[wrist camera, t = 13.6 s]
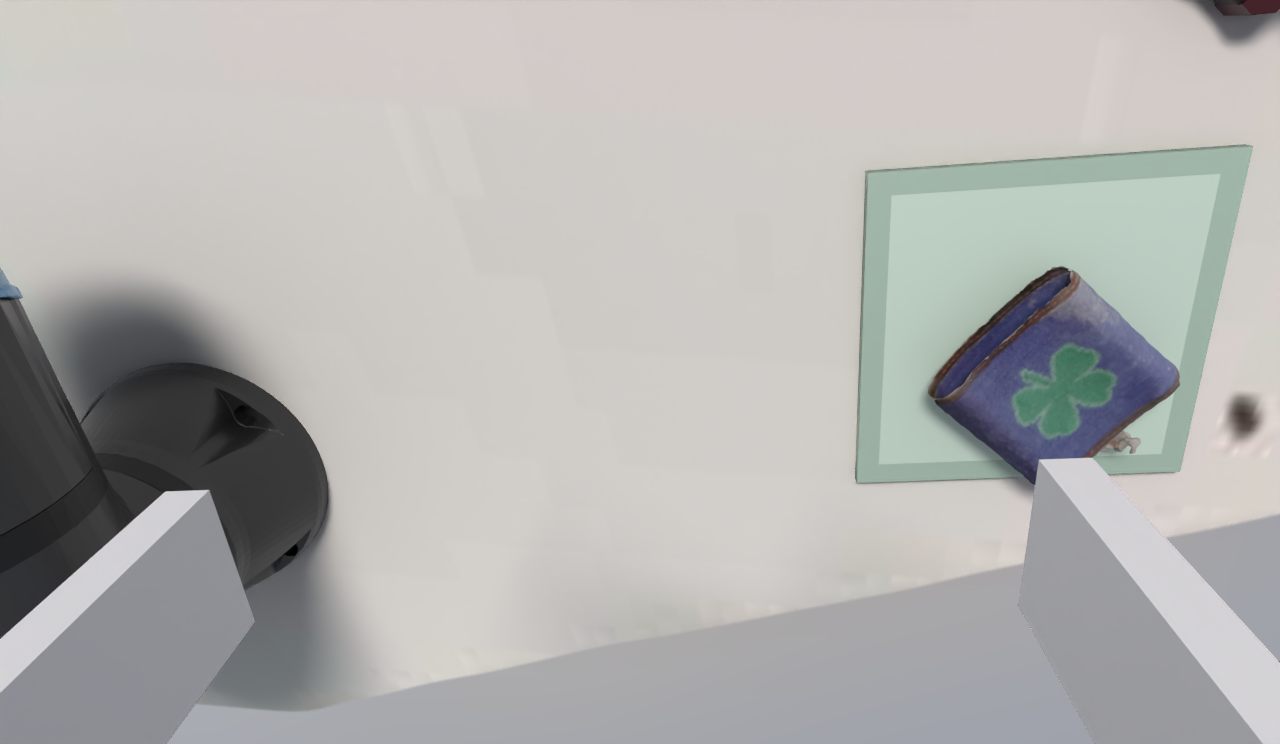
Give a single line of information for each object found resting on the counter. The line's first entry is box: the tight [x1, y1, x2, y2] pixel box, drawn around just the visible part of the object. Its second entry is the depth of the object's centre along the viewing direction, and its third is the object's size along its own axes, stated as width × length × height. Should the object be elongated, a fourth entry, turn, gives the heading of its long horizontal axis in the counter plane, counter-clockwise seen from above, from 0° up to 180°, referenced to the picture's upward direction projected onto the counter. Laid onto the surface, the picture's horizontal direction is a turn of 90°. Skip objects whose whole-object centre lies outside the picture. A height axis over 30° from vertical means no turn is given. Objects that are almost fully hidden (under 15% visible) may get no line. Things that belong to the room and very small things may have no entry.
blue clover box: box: [928, 266, 1180, 485], centre depth 41 cm, size 9×3×11 cm
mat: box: [855, 144, 1253, 483], centre depth 42 cm, size 18×18×1 cm
